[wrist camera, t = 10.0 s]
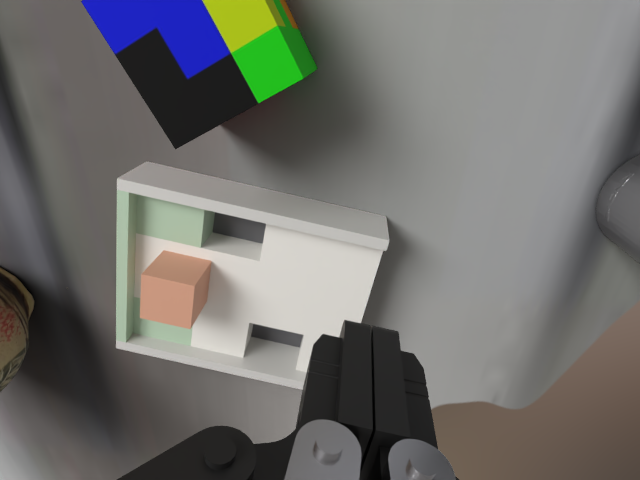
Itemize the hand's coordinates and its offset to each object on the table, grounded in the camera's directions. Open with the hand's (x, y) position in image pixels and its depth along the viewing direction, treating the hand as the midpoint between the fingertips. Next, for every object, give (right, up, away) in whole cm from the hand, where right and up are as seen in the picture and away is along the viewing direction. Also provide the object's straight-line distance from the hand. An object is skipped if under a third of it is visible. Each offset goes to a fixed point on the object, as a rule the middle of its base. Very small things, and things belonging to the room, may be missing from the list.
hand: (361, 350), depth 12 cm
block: (-14, 0, +29) cm, 32 cm away
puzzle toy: (-8, +20, +24) cm, 32 cm away
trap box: (-8, 0, +32) cm, 33 cm away
